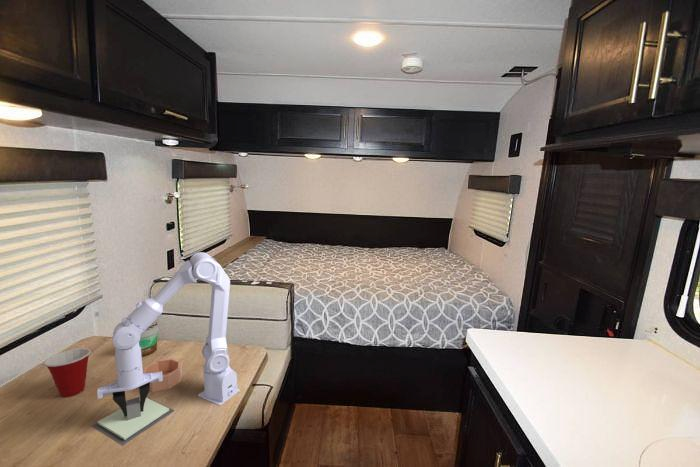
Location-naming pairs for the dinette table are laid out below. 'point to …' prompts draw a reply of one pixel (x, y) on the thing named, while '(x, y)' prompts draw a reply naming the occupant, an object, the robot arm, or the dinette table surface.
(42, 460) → the dinette table surface
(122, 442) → the mat
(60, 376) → the plastic cup
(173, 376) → the bowl
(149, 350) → the food container
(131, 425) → the sheet
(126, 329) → the robot arm
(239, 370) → the dinette table surface
